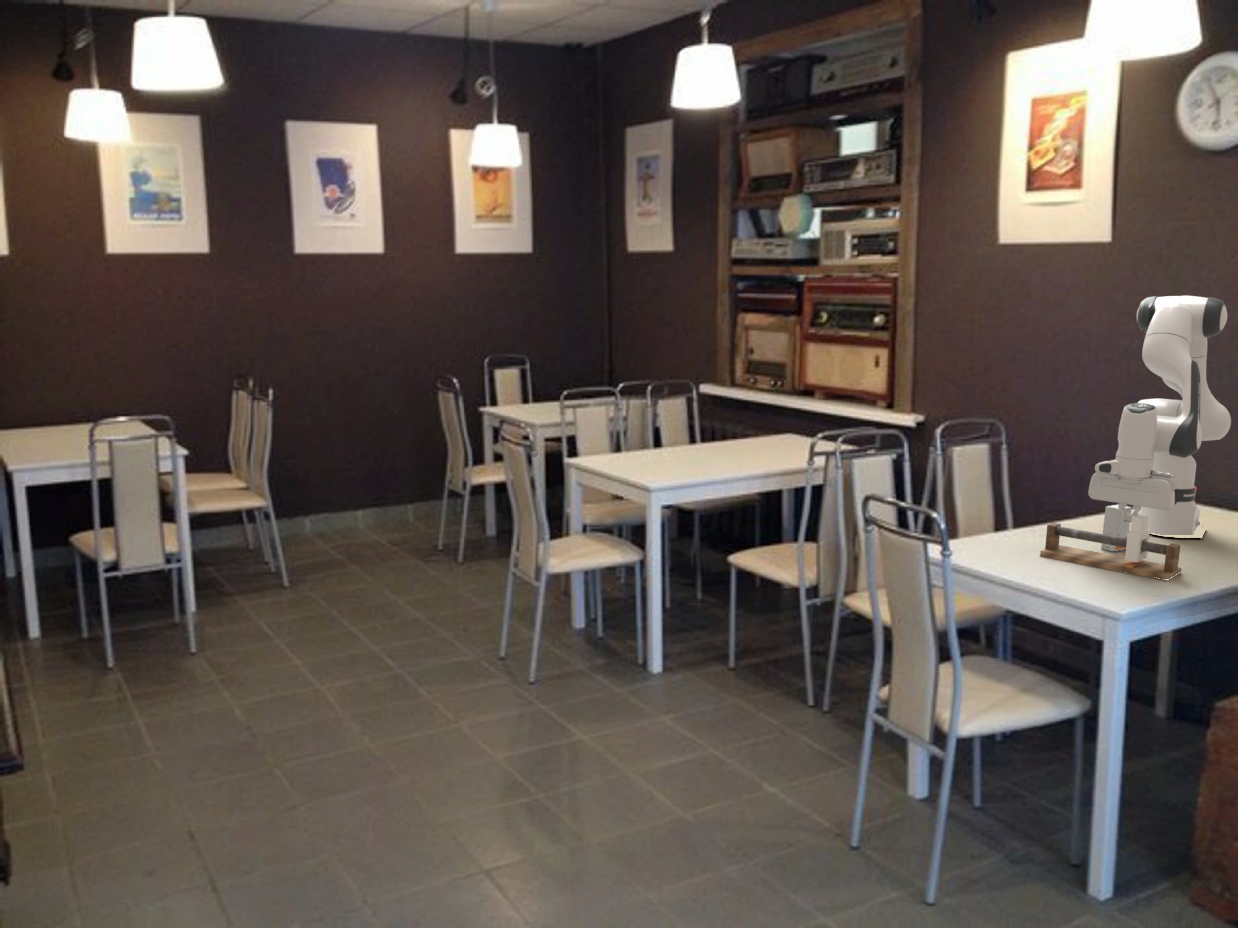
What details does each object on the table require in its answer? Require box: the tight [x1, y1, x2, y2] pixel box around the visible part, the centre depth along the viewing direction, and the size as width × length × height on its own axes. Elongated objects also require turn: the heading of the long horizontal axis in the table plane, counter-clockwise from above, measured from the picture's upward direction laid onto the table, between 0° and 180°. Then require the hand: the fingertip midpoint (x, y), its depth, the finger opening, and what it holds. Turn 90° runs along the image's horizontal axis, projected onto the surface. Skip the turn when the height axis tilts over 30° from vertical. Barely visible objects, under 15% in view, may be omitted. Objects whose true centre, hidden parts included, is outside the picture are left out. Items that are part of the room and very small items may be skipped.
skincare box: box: [1100, 504, 1133, 552], centre depth 306 cm, size 6×4×12 cm
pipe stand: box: [1039, 522, 1182, 579], centre depth 290 cm, size 32×10×8 cm, turn 47°
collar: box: [1124, 513, 1150, 562], centre depth 285 cm, size 3×7×11 cm, turn 137°
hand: (1128, 521), depth 286 cm, fingers closed
